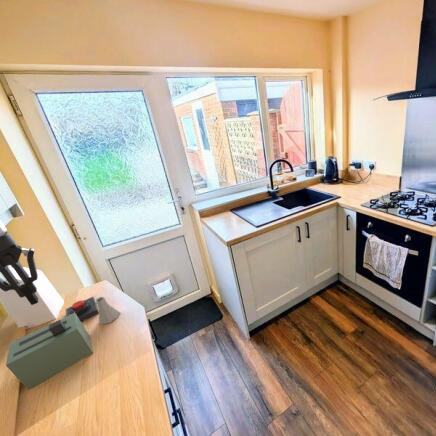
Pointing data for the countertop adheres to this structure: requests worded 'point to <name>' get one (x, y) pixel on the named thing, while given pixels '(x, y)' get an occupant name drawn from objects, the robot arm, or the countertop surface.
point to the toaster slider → (57, 328)
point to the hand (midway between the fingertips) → (35, 301)
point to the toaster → (48, 352)
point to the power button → (78, 305)
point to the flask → (106, 311)
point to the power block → (85, 310)
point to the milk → (38, 312)
